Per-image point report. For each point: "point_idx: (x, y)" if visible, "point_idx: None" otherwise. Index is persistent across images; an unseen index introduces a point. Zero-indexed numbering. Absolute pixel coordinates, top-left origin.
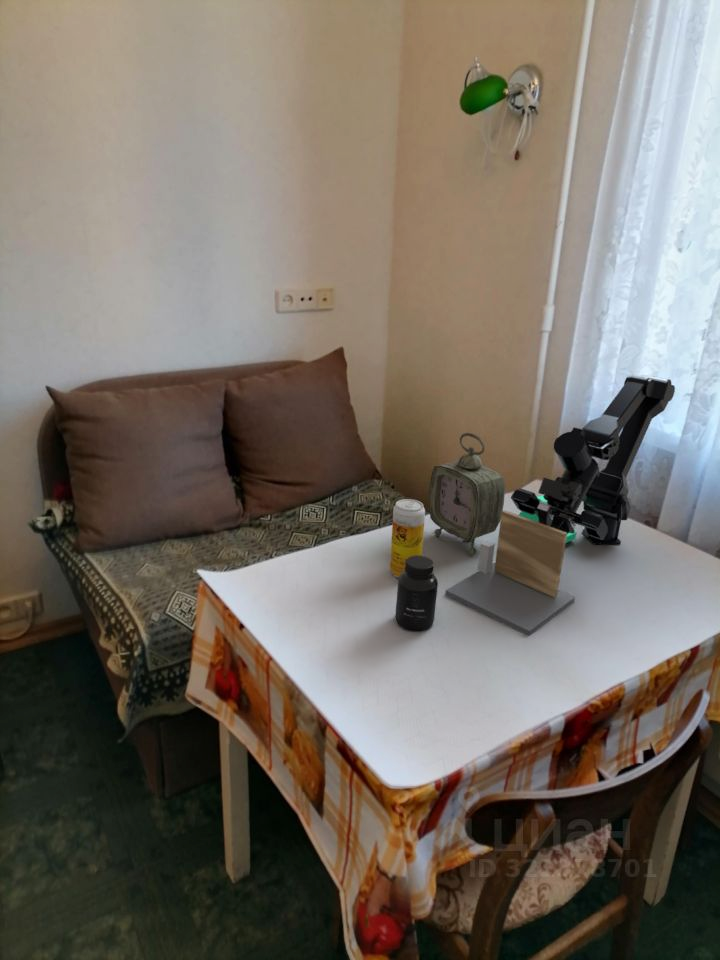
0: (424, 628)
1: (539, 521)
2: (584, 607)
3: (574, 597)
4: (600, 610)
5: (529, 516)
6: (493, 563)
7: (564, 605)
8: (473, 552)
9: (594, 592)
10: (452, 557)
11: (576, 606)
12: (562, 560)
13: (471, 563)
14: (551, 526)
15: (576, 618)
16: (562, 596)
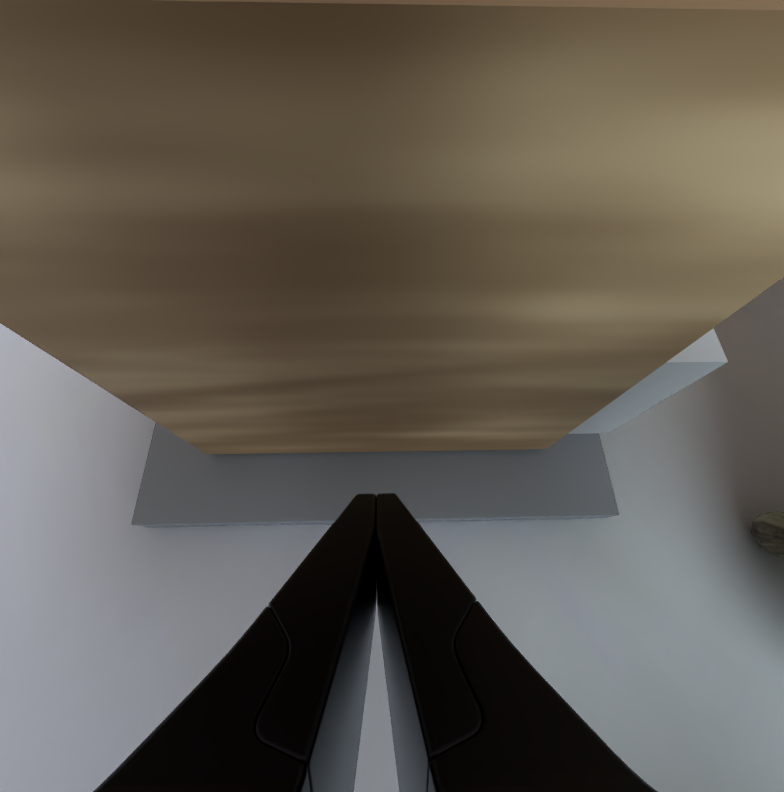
0: None
1: (599, 751)
2: (90, 519)
3: (133, 520)
4: (12, 556)
5: None
6: (611, 502)
7: (157, 424)
8: (763, 521)
9: (70, 727)
10: (771, 442)
11: (127, 498)
12: (56, 353)
13: (682, 463)
14: (277, 749)
15: (103, 412)
16: (188, 482)
